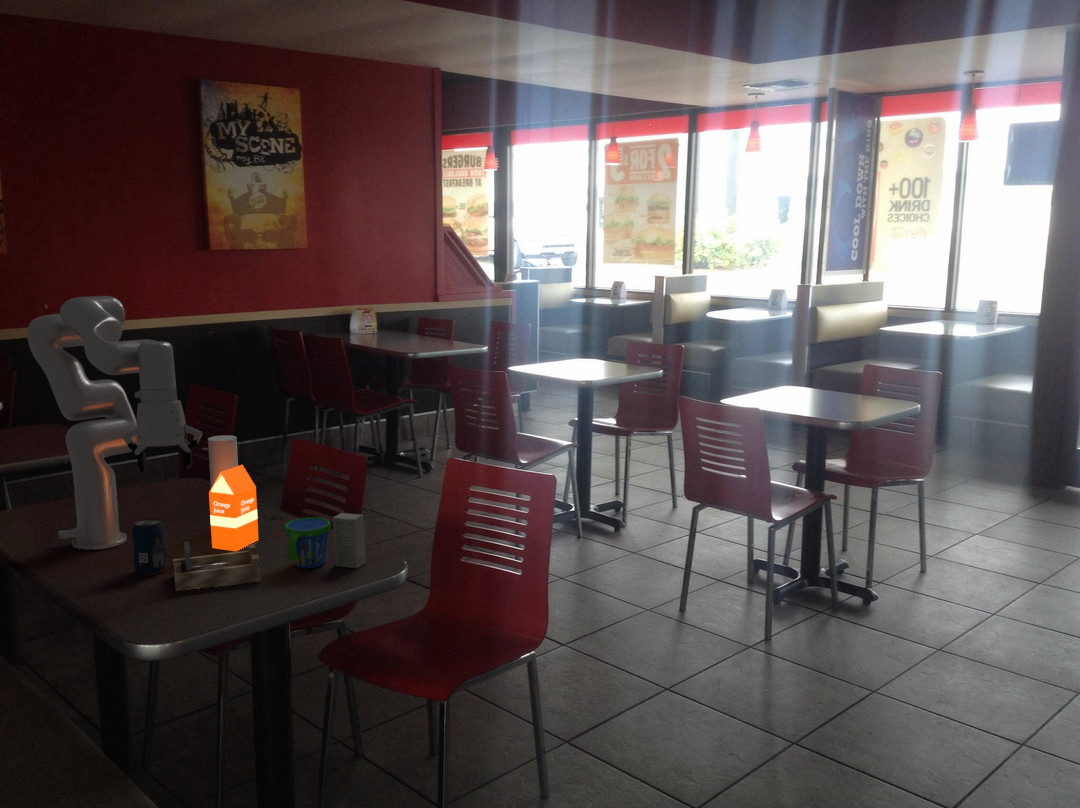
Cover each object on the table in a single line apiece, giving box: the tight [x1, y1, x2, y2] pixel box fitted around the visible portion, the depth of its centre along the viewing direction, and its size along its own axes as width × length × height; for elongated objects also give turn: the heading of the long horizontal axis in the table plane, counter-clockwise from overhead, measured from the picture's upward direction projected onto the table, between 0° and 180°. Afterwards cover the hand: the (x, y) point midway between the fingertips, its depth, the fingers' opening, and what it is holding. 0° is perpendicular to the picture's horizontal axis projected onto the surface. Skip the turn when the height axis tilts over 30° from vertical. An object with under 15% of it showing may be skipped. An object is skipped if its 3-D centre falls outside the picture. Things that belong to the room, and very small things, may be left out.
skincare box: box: [332, 512, 367, 569], centre depth 220 cm, size 6×4×12 cm
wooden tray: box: [172, 543, 262, 592], centre depth 211 cm, size 18×12×6 cm, turn 113°
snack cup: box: [283, 516, 332, 569], centre depth 221 cm, size 16×10×10 cm
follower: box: [183, 541, 228, 572], centre depth 210 cm, size 9×8×7 cm
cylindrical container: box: [207, 434, 239, 490], centre depth 246 cm, size 7×7×25 cm
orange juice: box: [208, 464, 259, 552], centre depth 234 cm, size 8×9×20 cm
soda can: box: [131, 517, 168, 575], centre depth 216 cm, size 7×7×12 cm
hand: (165, 469), depth 213 cm, fingers open, 9 cm apart
